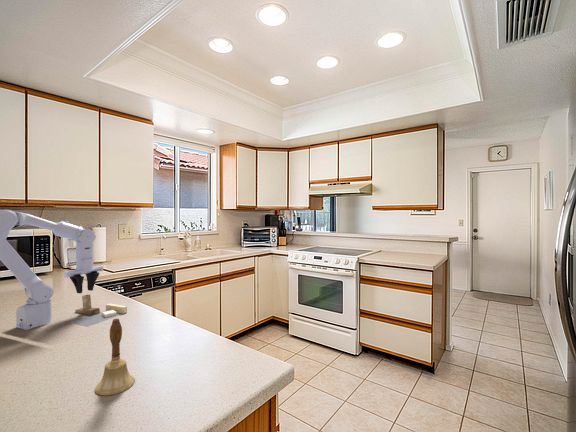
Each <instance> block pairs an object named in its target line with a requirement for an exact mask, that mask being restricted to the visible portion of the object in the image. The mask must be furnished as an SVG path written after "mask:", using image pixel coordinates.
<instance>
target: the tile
mask: <svg viewBox="0 0 576 432" xmlns="http://www.w3.org/2000/svg"><path fill="white" fill-rule="evenodd" d="M104 311H105V312H103V311H101V312H102V316H104V317H105V318H106V317H110V316H115V315H117V312H116V311H114V310H110V311H106V310H104Z"/></svg>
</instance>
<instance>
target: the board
mask: <svg viewBox="0 0 576 432" xmlns="http://www.w3.org/2000/svg"><path fill="white" fill-rule="evenodd" d="M110 310H114V311H116V312H117V315H115V316H110V317H106V318H105V317H104V316H102V312H105V311H110ZM127 313H128V306H127V305H120V304H114V303H107V304H105V310H103V311H100V313H98V314H95V315H88V316H86V317H83V318H80V319H76V320H74V321H73V320H72V321H71V322H69V324H71V325H72V324H73V325H78V326H83V327H88V328H89V327H91V326H93V325H97V324H99V323H102V322H105V321H107V320H110V319H114V318H115V317H117V316H121V315H124V314H127Z"/></svg>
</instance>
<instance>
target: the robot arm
mask: <svg viewBox="0 0 576 432" xmlns="http://www.w3.org/2000/svg"><path fill="white" fill-rule="evenodd" d="M23 225H24V226H25V225H29V226H31V227H37V228H40V229H44V230H48V231H52V233H53V235H54V236H56V237H61V238H63V239H67V240H71V241H75V243H76V246H75V268H76V269H72V270H70V271H69V270H68V271H64V272H63V274H64V275H63V276H64V278H69V279H70V281H71V282H72V284H73V285H74V288H75V292H76V294H82V293H83V286H84V285H83V283H84V279H85V276H86V282H87V283H86V285H87V286H86V287H87V290H88V291H90V292H91V291H94V287H95V283H96V282H97V279H98V277H99V276H100V272H103V271H104V266H103V265H96V266H94V241H95V240H96V237H97V236H96V235H95V232H94V231H93V229H90V228H83V226H82V225H79V226H78V225H74V224H72V223H70V221H67V220H65V221H61V220H60V221H59V222H54V221H51V220H47V219H44V218H41V217H39V216H36V215H32V214H30V213H25V212H21V211H20V212H19V211H13V210H11V209H0V261H1V263H3V265H4V266H5V267H6V268H7V269H8V270H9V271H10V272H11V274H12V275H13V276H14V277H15V278H16V279H17V280H18V282H20V284H21V286H22V287H23V289H24V294H25V295H26V297H27V299H26V300H25V304H23V305H20V306H18V308H17V309H16V315H15V316H16V319H15V320H16V321H15V322H16V323H15V324H16V328H18V329H20V330H25V331H26V330H30V329H33V328H37V327H40V326H41V327H42V326H45V325H47V324H50V323H52V322H53V299H52V297H53V296H54V288H53V287H52V286H51V285H49V284H46V283H45V282H44V281H43V280H42V279H41V278H40V277H39V276H37V274H36V273H35V272H34V271H33V270H32V269H31V267H30V266H29V265H28V264H27V262H25V260H24V259H23V258H22V256H20V254H19V253H18V252H17V251H16V250H15V249H14V247H13V246H12V245H11V243H9V241H8V240H7V238H8V236H9V234H10V231H12V229H13V228H14V227H15V226H23ZM82 275H85V276H82Z"/></svg>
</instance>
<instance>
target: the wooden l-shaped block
mask: <svg viewBox="0 0 576 432" xmlns="http://www.w3.org/2000/svg"><path fill="white" fill-rule="evenodd" d="M81 300H82V301H81V302H82V307H80V308H77V309H75V314H76V313H77V314H82V315H88V316H91V315H95V314H98V313H100V312H101V309H100V307H92V299H91V294H84V295H82V296H81Z"/></svg>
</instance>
